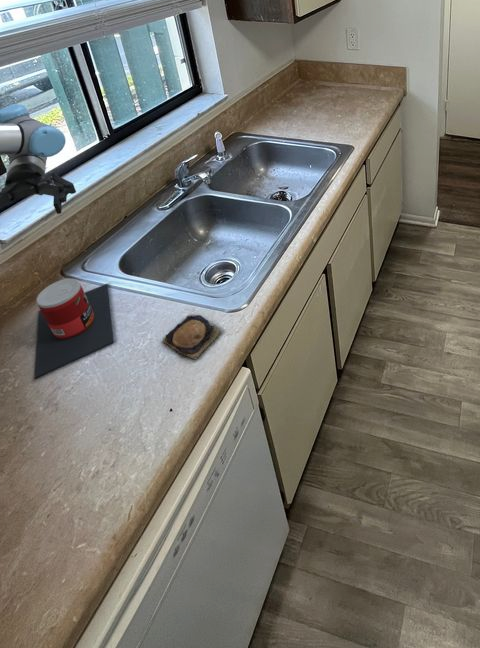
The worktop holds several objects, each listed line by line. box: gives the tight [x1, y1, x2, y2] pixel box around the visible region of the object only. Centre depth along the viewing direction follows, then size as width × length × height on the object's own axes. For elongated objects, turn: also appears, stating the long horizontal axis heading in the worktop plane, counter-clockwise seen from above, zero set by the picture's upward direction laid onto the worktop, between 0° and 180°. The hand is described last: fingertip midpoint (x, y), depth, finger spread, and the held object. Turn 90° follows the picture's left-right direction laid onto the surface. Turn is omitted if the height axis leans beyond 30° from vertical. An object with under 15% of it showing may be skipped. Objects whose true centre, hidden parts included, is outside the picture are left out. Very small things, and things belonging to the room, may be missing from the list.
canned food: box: [36, 278, 94, 339], centre depth 99 cm, size 8×8×11 cm
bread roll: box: [163, 314, 222, 360], centre depth 98 cm, size 11×8×4 cm
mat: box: [34, 283, 115, 379], centre depth 102 cm, size 14×20×1 cm
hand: (19, 220), depth 96 cm, fingers open, 13 cm apart
